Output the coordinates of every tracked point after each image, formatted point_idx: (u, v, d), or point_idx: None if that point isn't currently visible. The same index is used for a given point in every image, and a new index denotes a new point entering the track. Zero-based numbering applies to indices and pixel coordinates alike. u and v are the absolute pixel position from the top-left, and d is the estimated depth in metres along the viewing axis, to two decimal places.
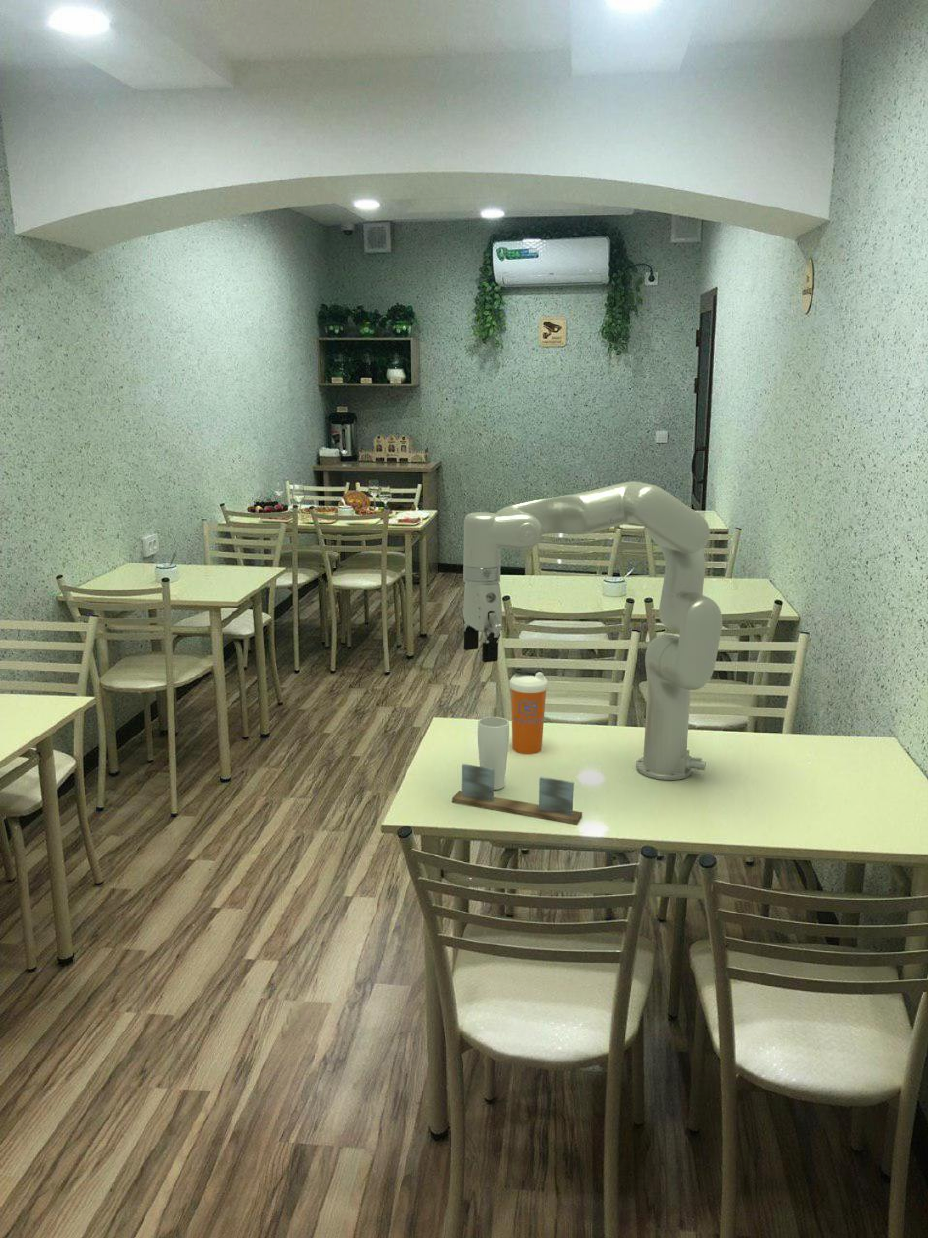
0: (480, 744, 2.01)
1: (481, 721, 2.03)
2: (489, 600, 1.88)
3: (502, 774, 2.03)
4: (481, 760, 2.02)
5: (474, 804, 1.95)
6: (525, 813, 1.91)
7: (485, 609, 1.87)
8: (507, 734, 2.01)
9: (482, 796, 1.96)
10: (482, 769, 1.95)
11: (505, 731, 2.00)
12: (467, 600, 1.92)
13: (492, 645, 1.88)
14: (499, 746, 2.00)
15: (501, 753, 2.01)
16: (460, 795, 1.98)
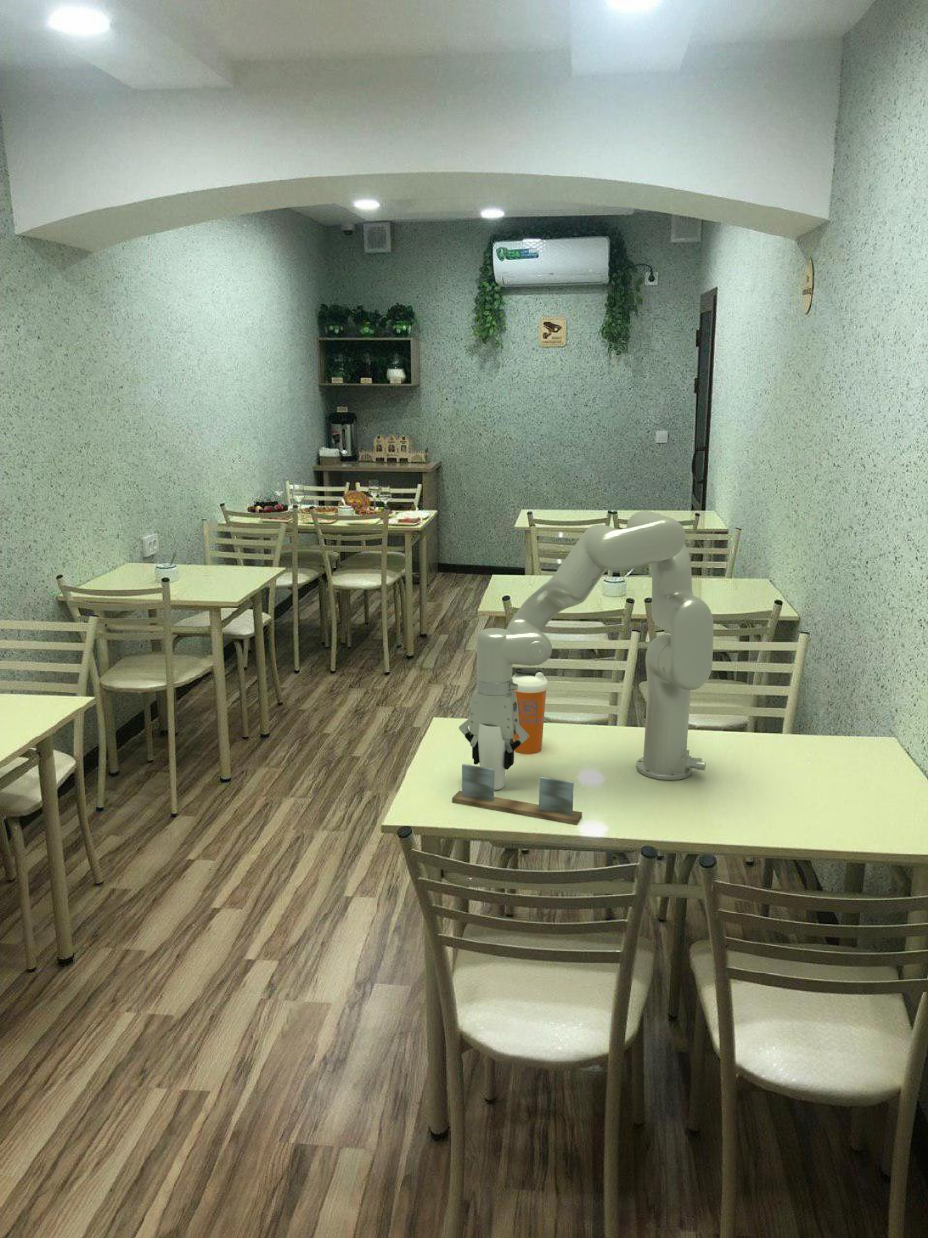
0: (480, 744, 2.01)
1: None
2: None
3: (502, 774, 2.03)
4: (481, 760, 2.02)
5: (474, 804, 1.95)
6: (525, 813, 1.91)
7: (513, 718, 1.99)
8: None
9: (482, 796, 1.96)
10: (482, 769, 1.95)
11: None
12: (483, 714, 2.00)
13: (513, 752, 2.02)
14: (499, 746, 2.00)
15: (501, 753, 2.01)
16: (460, 795, 1.98)
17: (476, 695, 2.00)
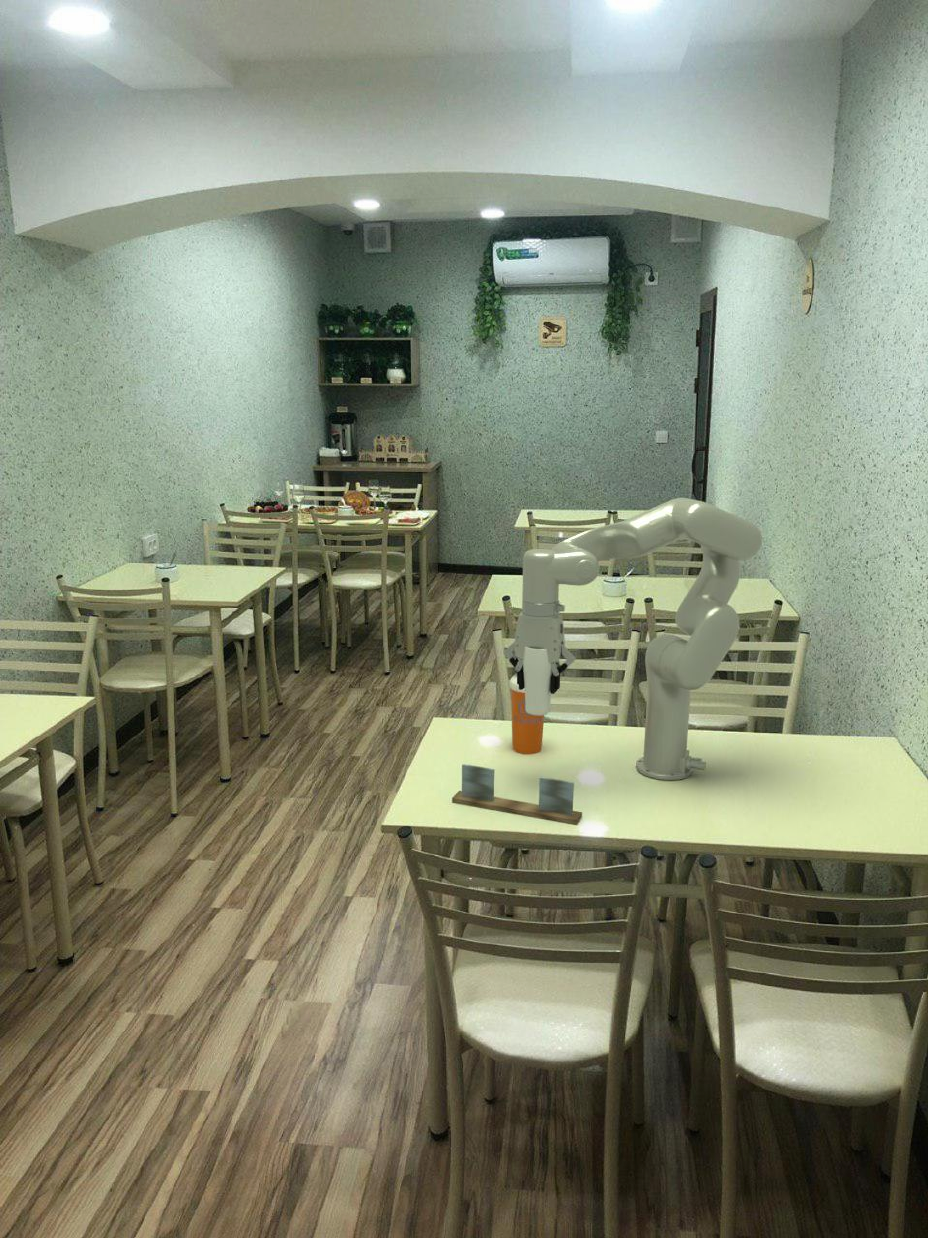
0: (526, 668, 1.98)
1: None
2: None
3: (548, 699, 1.99)
4: (526, 684, 1.99)
5: (474, 804, 1.95)
6: (525, 813, 1.91)
7: (560, 640, 1.95)
8: None
9: (482, 796, 1.96)
10: (482, 769, 1.95)
11: None
12: (529, 636, 1.96)
13: (559, 676, 1.98)
14: (545, 669, 1.96)
15: (547, 676, 1.97)
16: (460, 795, 1.98)
17: (522, 617, 1.96)
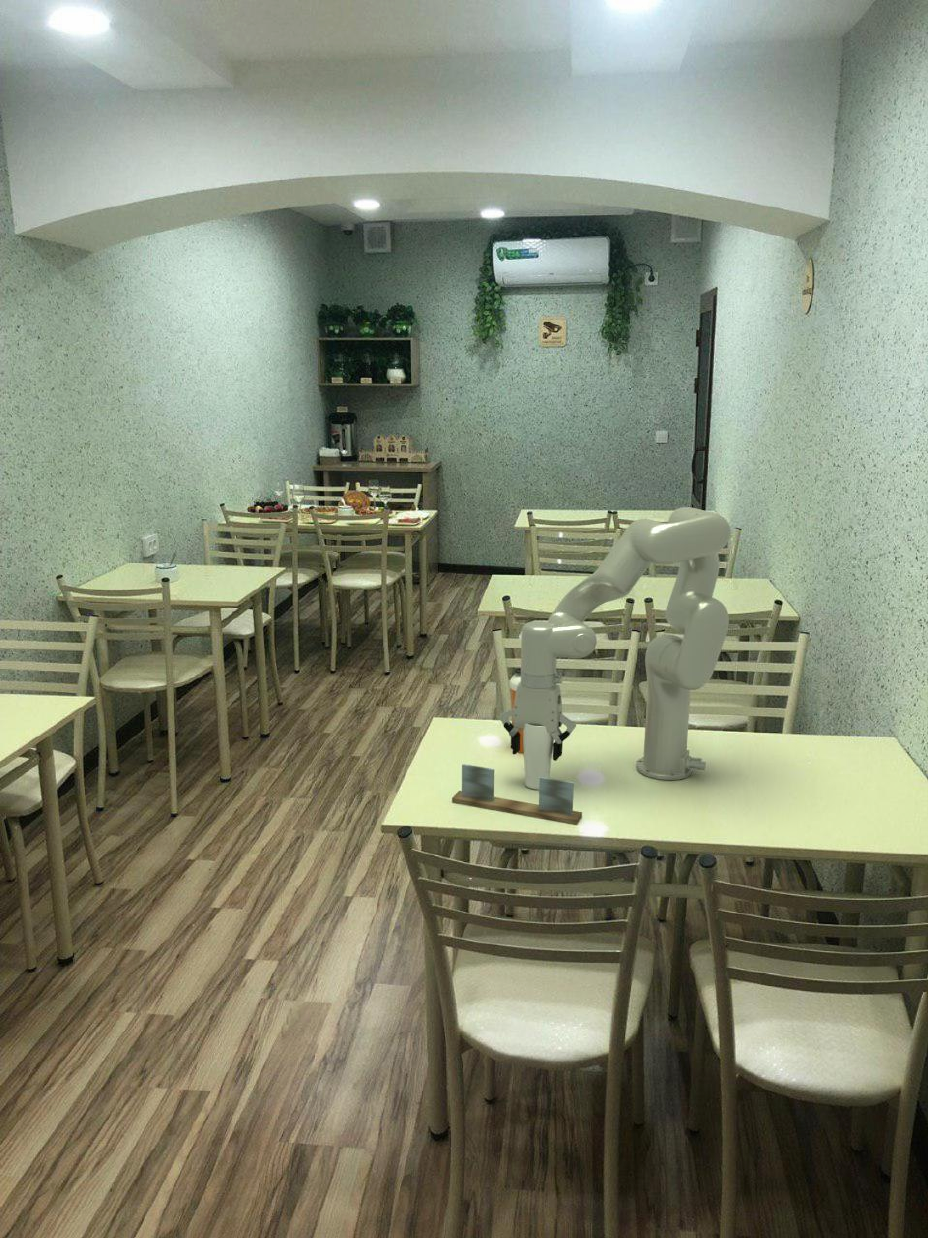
0: (525, 743, 2.02)
1: None
2: None
3: (547, 773, 2.03)
4: (526, 759, 2.03)
5: (474, 804, 1.95)
6: (525, 813, 1.91)
7: (557, 711, 1.99)
8: None
9: (482, 796, 1.96)
10: (482, 769, 1.95)
11: None
12: (527, 707, 2.00)
13: (561, 743, 2.01)
14: (545, 745, 2.00)
15: (546, 752, 2.01)
16: (460, 795, 1.98)
17: (520, 688, 2.00)
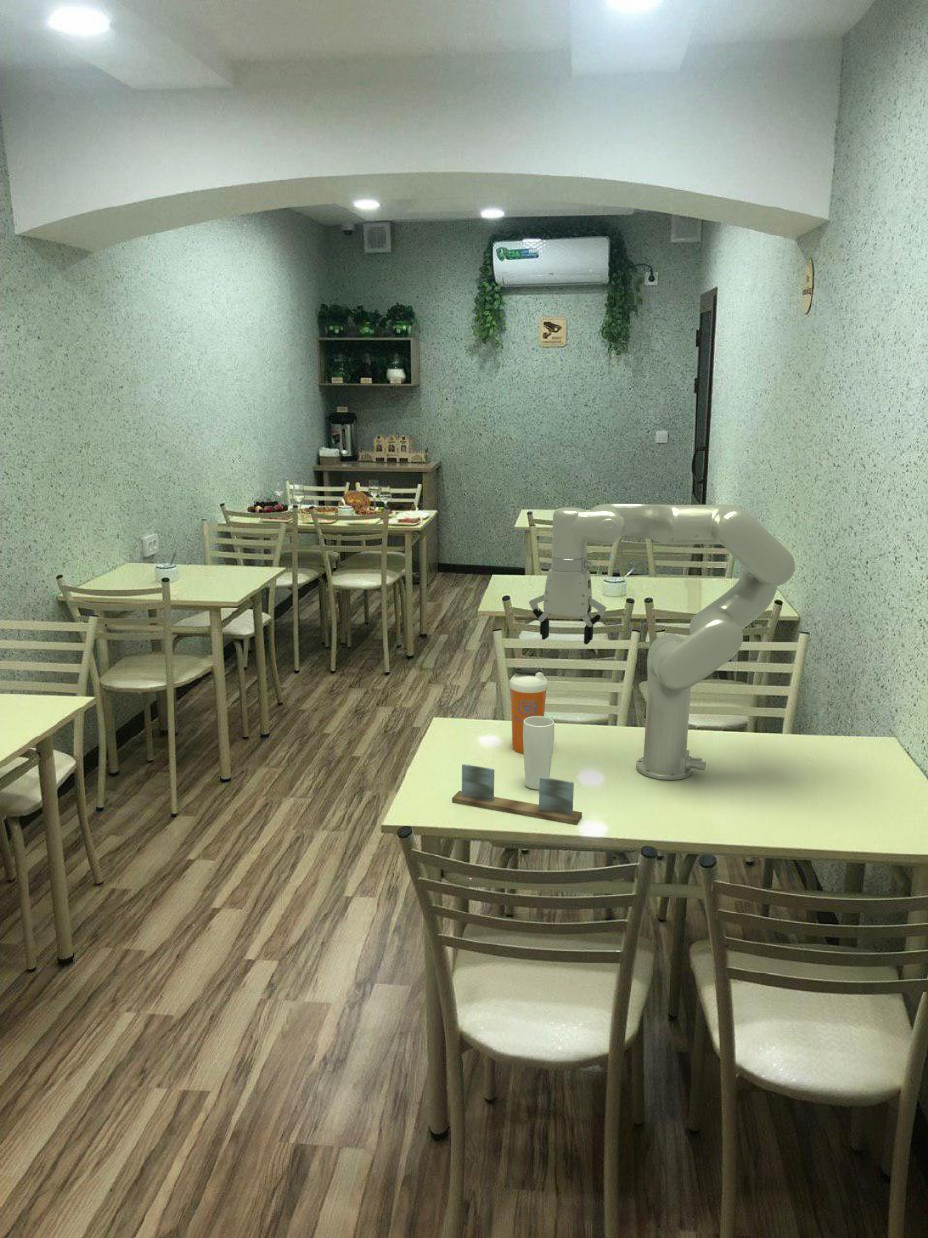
0: (525, 743, 2.02)
1: (526, 720, 2.04)
2: None
3: (547, 773, 2.03)
4: (526, 759, 2.03)
5: (474, 804, 1.95)
6: (525, 813, 1.91)
7: (588, 595, 2.03)
8: (552, 733, 2.01)
9: (482, 796, 1.96)
10: (482, 769, 1.95)
11: (550, 730, 2.00)
12: (558, 591, 2.04)
13: (592, 627, 2.06)
14: (545, 745, 2.00)
15: (547, 752, 2.01)
16: (460, 795, 1.98)
17: (551, 573, 2.04)
